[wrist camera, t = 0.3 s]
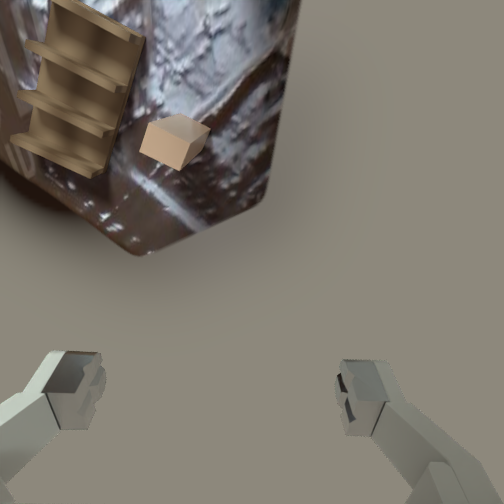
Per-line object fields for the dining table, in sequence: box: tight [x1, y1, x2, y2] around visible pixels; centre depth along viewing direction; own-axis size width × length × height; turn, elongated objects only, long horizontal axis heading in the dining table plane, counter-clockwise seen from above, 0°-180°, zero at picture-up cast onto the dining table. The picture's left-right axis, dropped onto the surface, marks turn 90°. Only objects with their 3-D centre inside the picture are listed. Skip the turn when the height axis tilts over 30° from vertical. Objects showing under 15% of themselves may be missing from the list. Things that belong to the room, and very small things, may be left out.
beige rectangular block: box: [139, 113, 211, 171], centre depth 46 cm, size 5×4×15 cm
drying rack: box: [10, 0, 146, 179], centre depth 48 cm, size 12×21×6 cm, turn 154°
